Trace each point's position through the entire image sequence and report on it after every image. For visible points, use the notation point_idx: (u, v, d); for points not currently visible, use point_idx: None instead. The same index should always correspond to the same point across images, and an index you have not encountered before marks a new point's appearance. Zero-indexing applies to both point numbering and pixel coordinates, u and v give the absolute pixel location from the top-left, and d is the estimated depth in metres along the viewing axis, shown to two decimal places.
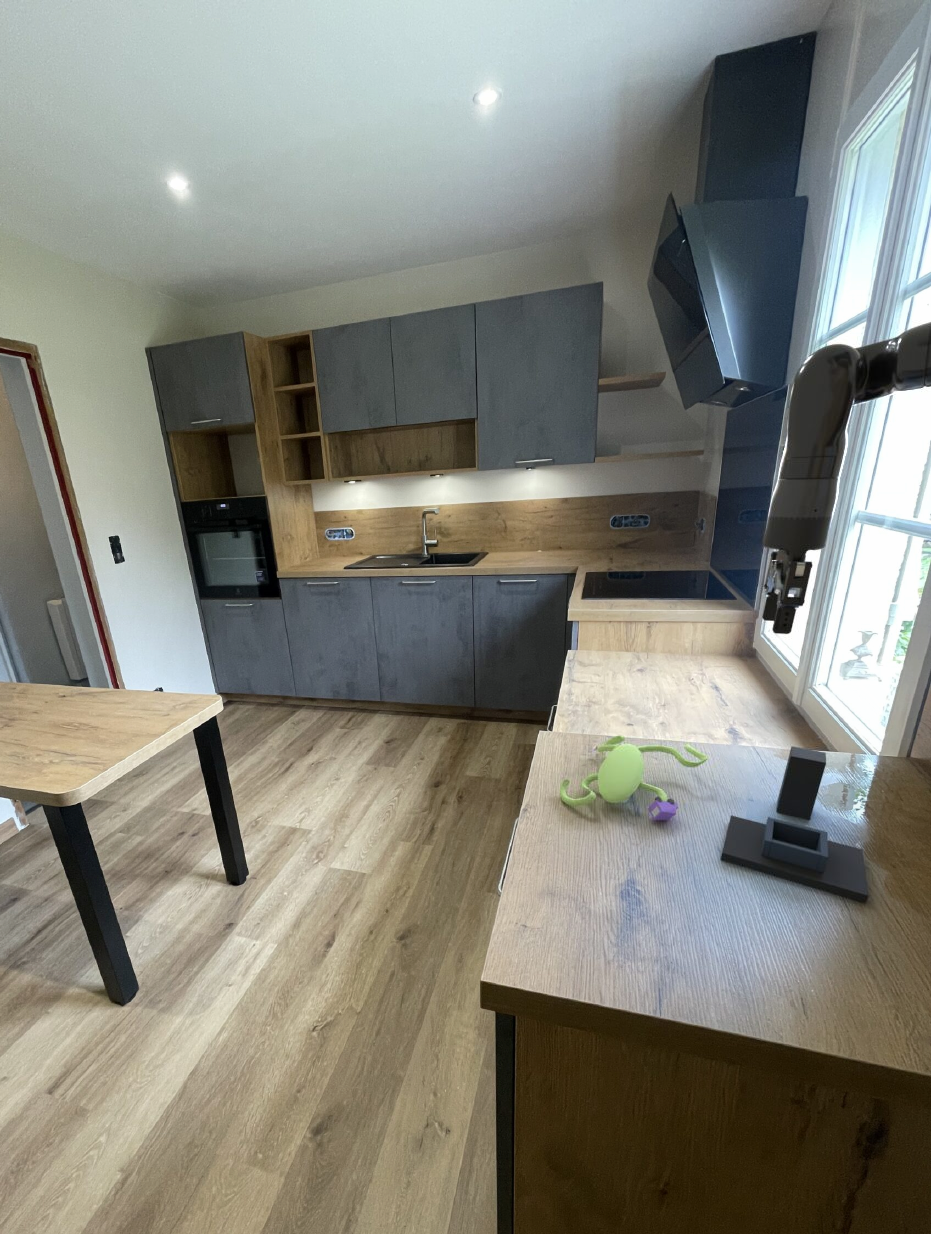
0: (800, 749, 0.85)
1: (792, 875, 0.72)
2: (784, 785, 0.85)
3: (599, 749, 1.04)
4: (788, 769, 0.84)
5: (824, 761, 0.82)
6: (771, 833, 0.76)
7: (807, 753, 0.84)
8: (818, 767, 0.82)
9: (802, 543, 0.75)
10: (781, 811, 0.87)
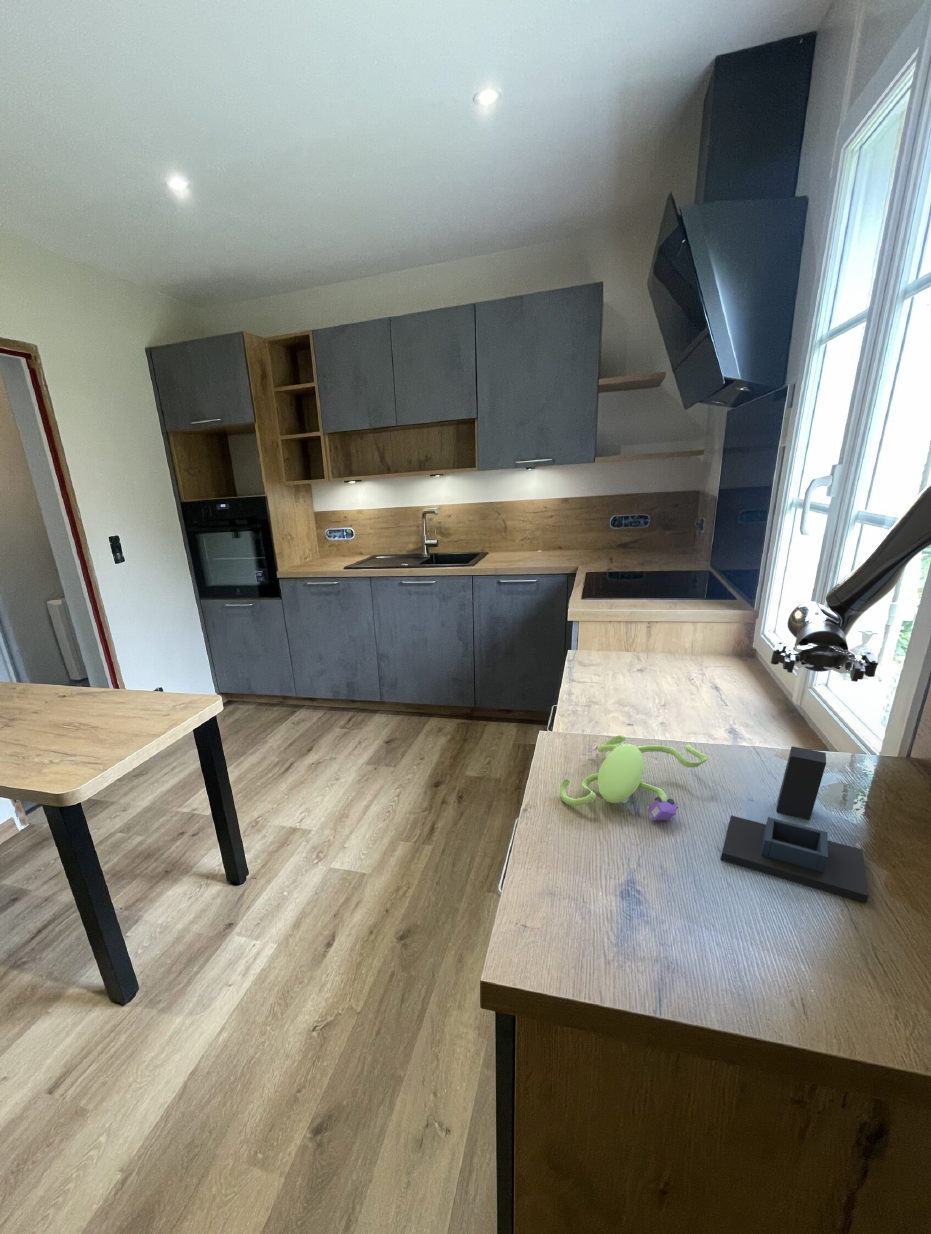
0: (800, 749, 0.85)
1: (792, 875, 0.72)
2: (784, 785, 0.85)
3: (599, 749, 1.04)
4: (788, 769, 0.84)
5: (824, 761, 0.82)
6: (771, 833, 0.76)
7: (807, 753, 0.84)
8: (818, 767, 0.82)
9: (796, 646, 1.00)
10: (781, 811, 0.87)
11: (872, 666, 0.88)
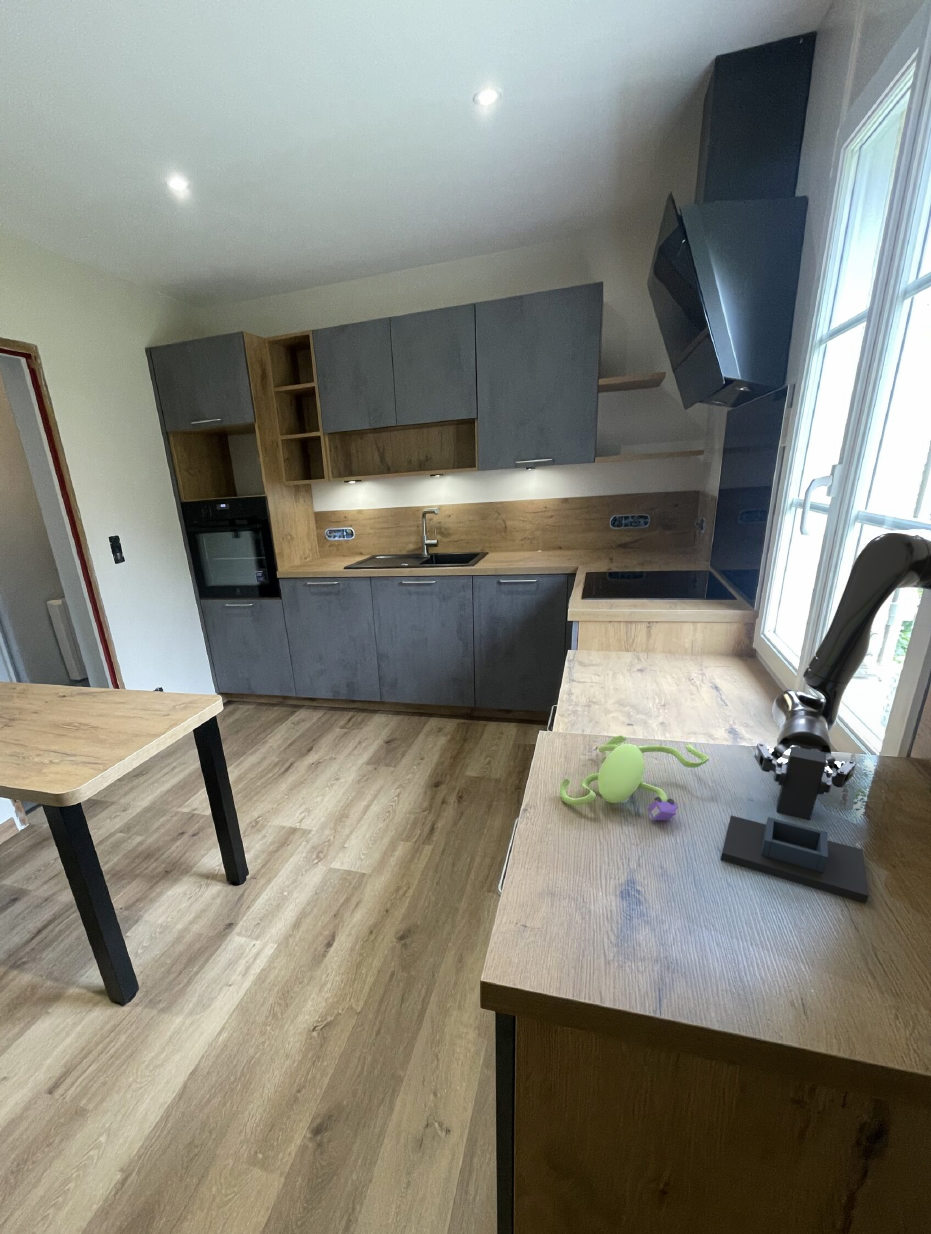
0: (800, 749, 0.85)
1: (792, 875, 0.72)
2: (784, 785, 0.85)
3: (600, 749, 1.04)
4: (788, 769, 0.84)
5: (824, 761, 0.82)
6: (771, 833, 0.76)
7: (807, 753, 0.84)
8: (818, 767, 0.82)
9: (777, 744, 0.95)
10: (781, 811, 0.87)
11: (840, 777, 0.84)
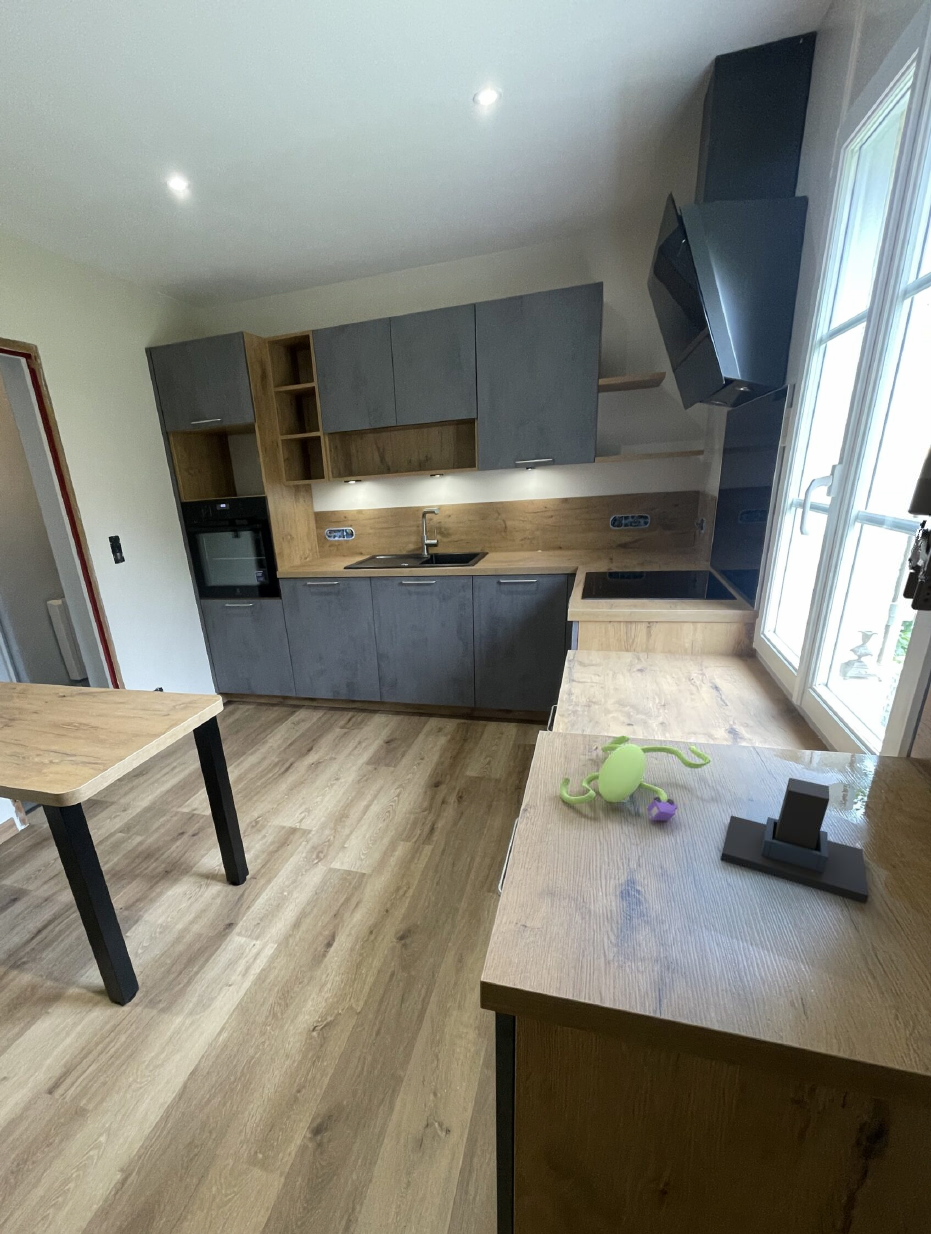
0: (799, 781, 0.74)
1: (792, 875, 0.72)
2: (781, 823, 0.74)
3: (603, 749, 1.04)
4: (785, 805, 0.73)
5: (827, 797, 0.71)
6: (771, 833, 0.76)
7: (807, 787, 0.73)
8: (820, 803, 0.71)
9: None
10: None
11: None
